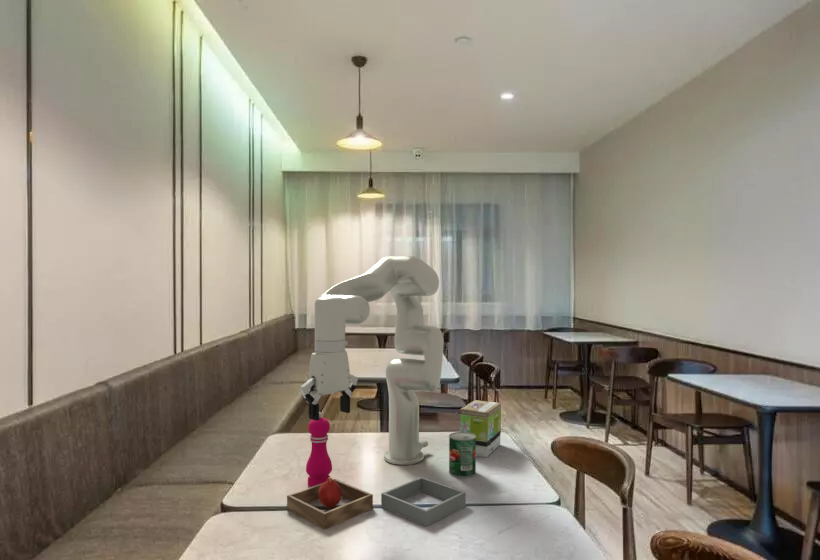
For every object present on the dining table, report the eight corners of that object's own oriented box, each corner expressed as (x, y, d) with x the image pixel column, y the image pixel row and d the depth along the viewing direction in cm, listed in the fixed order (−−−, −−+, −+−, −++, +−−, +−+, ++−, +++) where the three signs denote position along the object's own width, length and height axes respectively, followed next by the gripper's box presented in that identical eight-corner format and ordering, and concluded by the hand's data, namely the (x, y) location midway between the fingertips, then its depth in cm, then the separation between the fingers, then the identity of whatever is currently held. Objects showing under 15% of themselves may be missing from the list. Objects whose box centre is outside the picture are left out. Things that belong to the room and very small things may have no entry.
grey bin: (421, 489, 145) (421, 476, 145) (465, 506, 135) (465, 492, 135) (381, 507, 134) (381, 493, 134) (426, 526, 124) (426, 511, 124)
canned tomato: (443, 472, 158) (443, 435, 158) (461, 466, 163) (461, 430, 163) (462, 480, 152) (463, 441, 152) (481, 473, 157) (481, 436, 157)
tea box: (488, 458, 170) (488, 411, 170) (458, 453, 175) (458, 408, 174) (501, 444, 184) (501, 401, 184) (473, 440, 188) (473, 398, 188)
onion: (319, 504, 136) (319, 473, 136) (342, 503, 136) (342, 472, 136) (317, 514, 130) (317, 481, 130) (341, 513, 131) (341, 481, 130)
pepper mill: (326, 489, 145) (326, 416, 145) (301, 487, 146) (301, 414, 146) (335, 479, 152) (335, 409, 152) (311, 477, 154) (311, 408, 153)
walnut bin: (334, 491, 144) (334, 478, 144) (372, 508, 134) (372, 494, 133) (287, 509, 133) (287, 495, 133) (324, 529, 123) (324, 514, 123)
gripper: (347, 342, 142) (347, 406, 142) (291, 348, 129) (291, 419, 129) (366, 344, 136) (366, 411, 137) (310, 352, 124) (310, 425, 124)
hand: (330, 415), depth 133 cm, fingers open, 9 cm apart
